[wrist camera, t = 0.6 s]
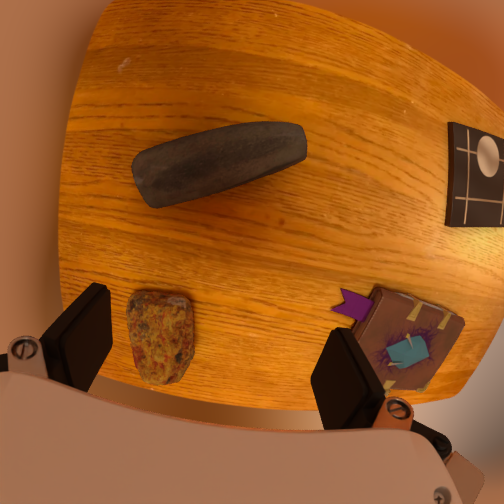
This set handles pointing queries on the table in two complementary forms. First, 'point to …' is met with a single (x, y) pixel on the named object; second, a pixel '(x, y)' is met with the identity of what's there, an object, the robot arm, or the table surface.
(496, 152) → the board
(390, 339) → the book
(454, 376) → the table surface
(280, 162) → the decorative stone
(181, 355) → the rock
